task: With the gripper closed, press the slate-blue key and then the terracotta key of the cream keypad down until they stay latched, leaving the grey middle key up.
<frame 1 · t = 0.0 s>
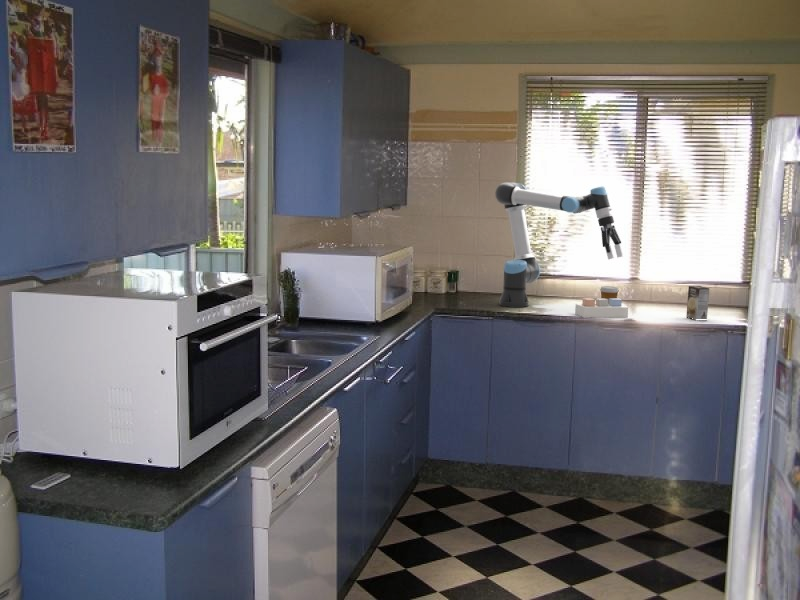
hand: (615, 257, 460), 28 cm above the countertop, tool tilted 20°, fingers open, 13 cm apart
key terracotta: (588, 305, 451), point 5 cm above the countertop, slide at 0.0 cm
disposable coffee cup: (608, 310, 471), on the countertop
coffee box: (696, 319, 450), on the countertop
key grey: (601, 305, 452), point 5 cm above the countertop, slide at 0.0 cm
keypad base: (601, 315, 453), on the countertop
key blue: (614, 305, 454), point 5 cm above the countertop, slide at 0.0 cm
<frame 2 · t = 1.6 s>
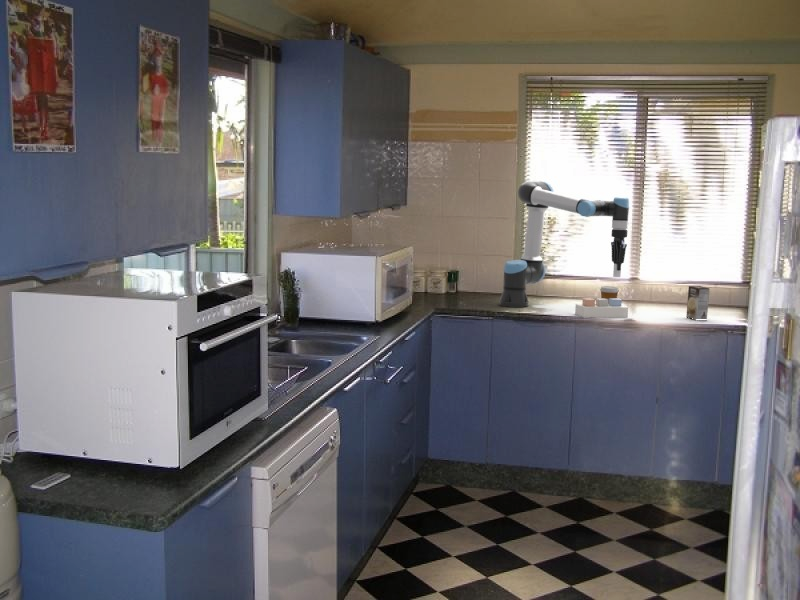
hand: (616, 276, 452), 19 cm above the countertop, tool pointing down, fingers closed
nothing on the countertop moved.
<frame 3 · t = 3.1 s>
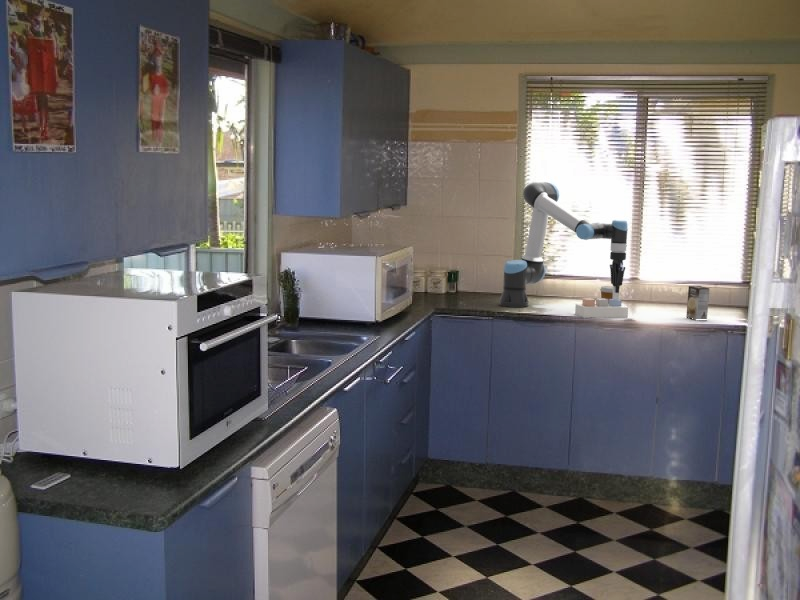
hand: (615, 299, 453), 8 cm above the countertop, tool pointing down, fingers closed
key blue: (614, 305, 454), point 5 cm above the countertop, slide at 0.3 cm, touching gripper
everything else where it was.
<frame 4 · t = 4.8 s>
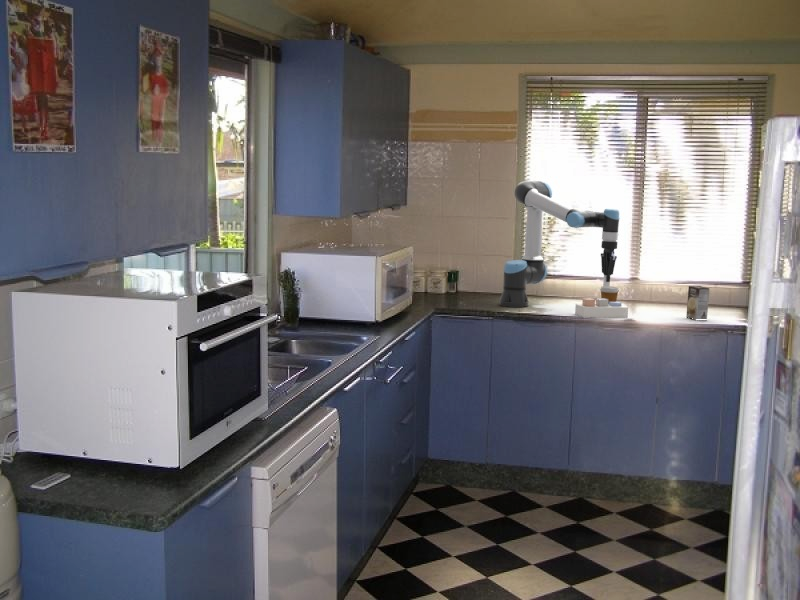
hand: (606, 288, 452), 14 cm above the countertop, tool pointing down, fingers closed
key blue: (614, 308, 454), point 4 cm above the countertop, slide at 1.6 cm
everything else where it was.
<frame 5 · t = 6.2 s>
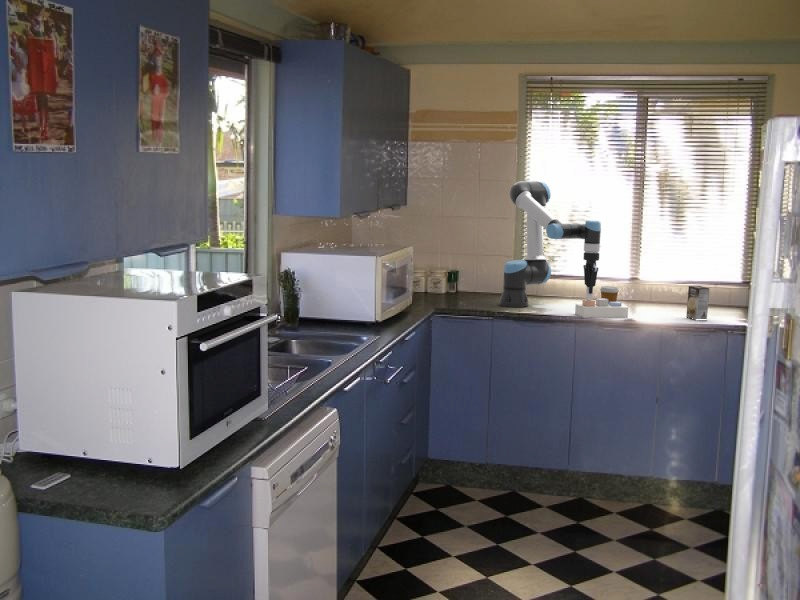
hand: (589, 299, 450), 8 cm above the countertop, tool pointing down, fingers closed
key terracotta: (588, 306, 451), point 5 cm above the countertop, slide at 0.6 cm, touching gripper
everything else where it was.
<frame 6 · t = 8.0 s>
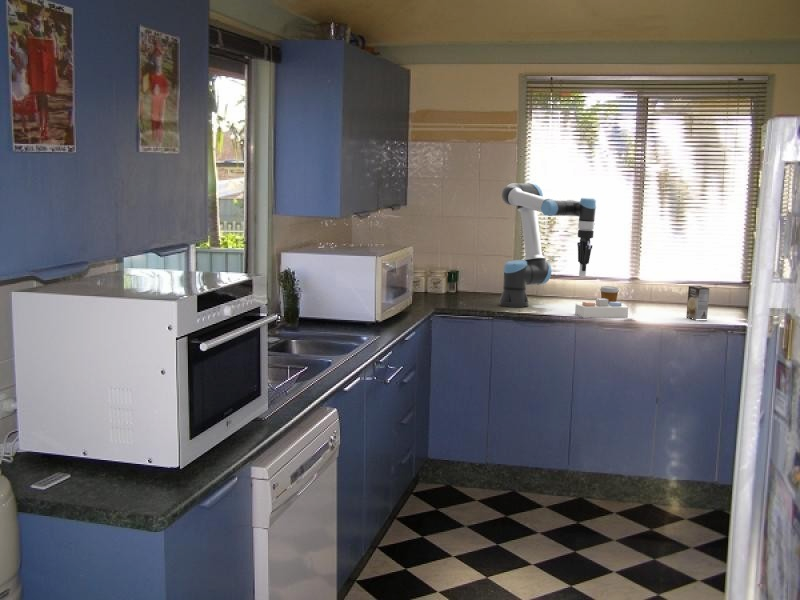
hand: (582, 277, 452), 19 cm above the countertop, tool pointing down, fingers closed
key terracotta: (588, 308, 451), point 4 cm above the countertop, slide at 1.7 cm
everything else where it was.
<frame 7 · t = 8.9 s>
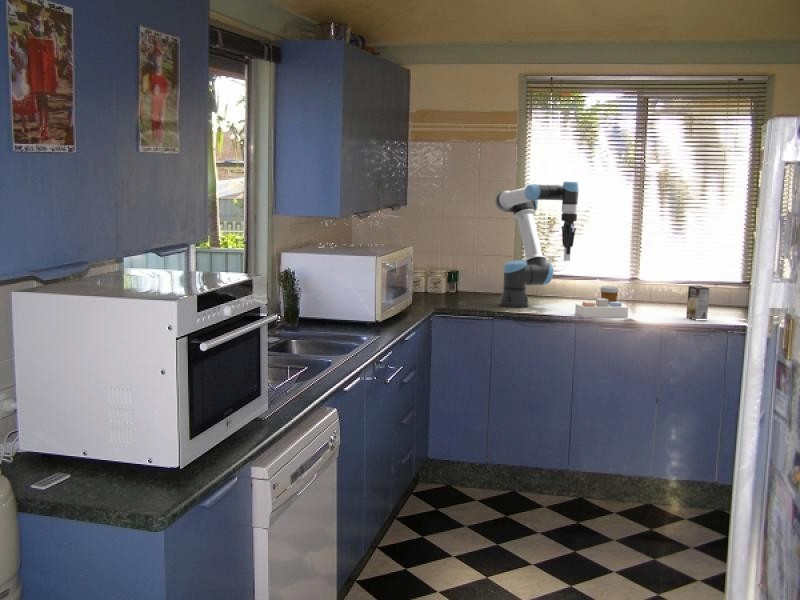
hand: (566, 260, 455), 26 cm above the countertop, tool pointing down, fingers closed
nothing on the countertop moved.
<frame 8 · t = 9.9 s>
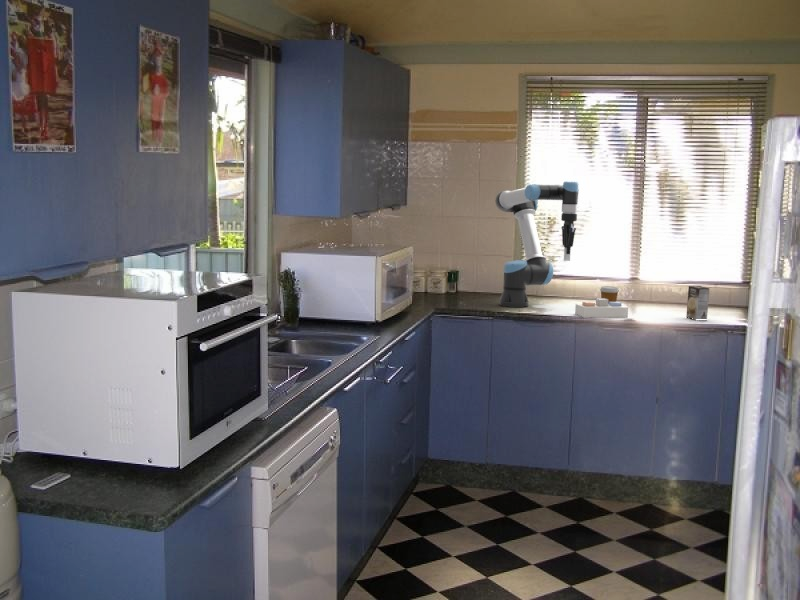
hand: (566, 260, 455), 26 cm above the countertop, tool pointing down, fingers closed
nothing on the countertop moved.
at the end: key blue slide at 1.6 cm; key terracotta slide at 1.7 cm; key grey slide at 0.0 cm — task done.
